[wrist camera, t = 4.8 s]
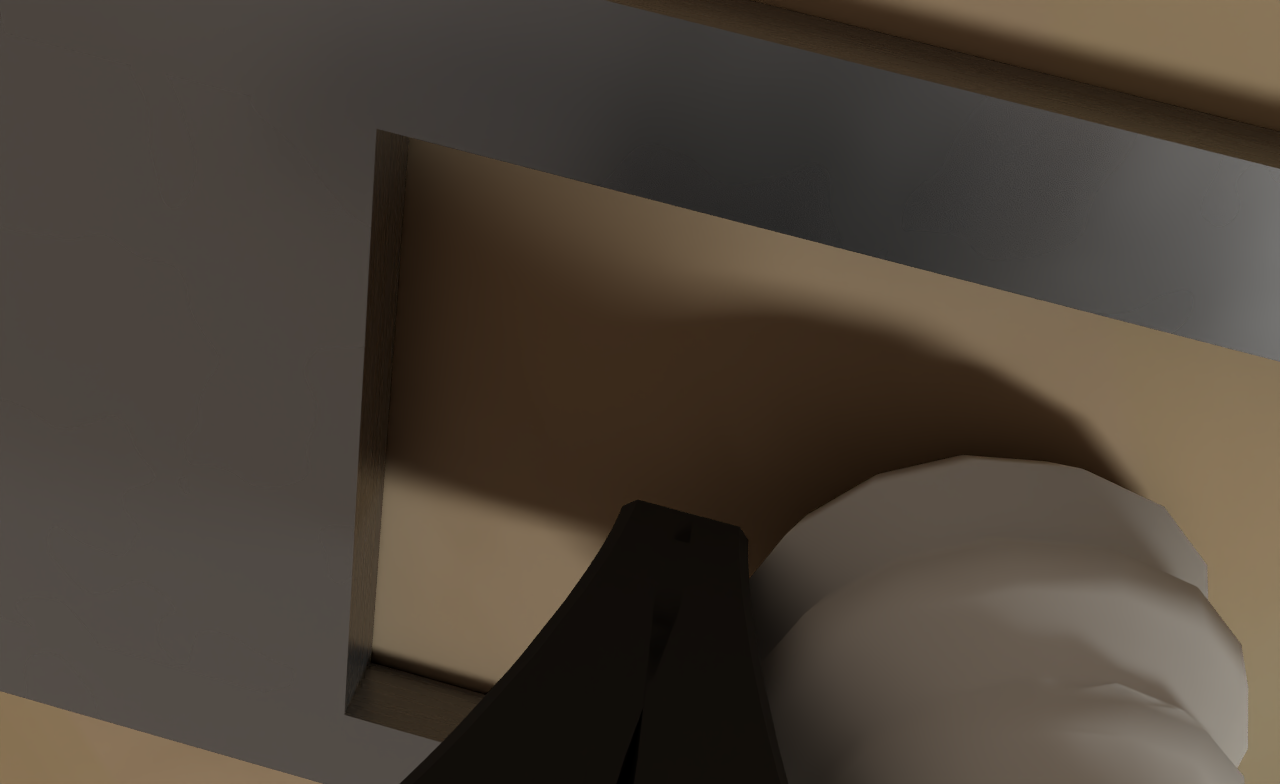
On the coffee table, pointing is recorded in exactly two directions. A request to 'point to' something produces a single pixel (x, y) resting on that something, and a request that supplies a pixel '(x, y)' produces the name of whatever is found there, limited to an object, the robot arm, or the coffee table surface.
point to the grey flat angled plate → (369, 272)
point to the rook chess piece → (996, 635)
